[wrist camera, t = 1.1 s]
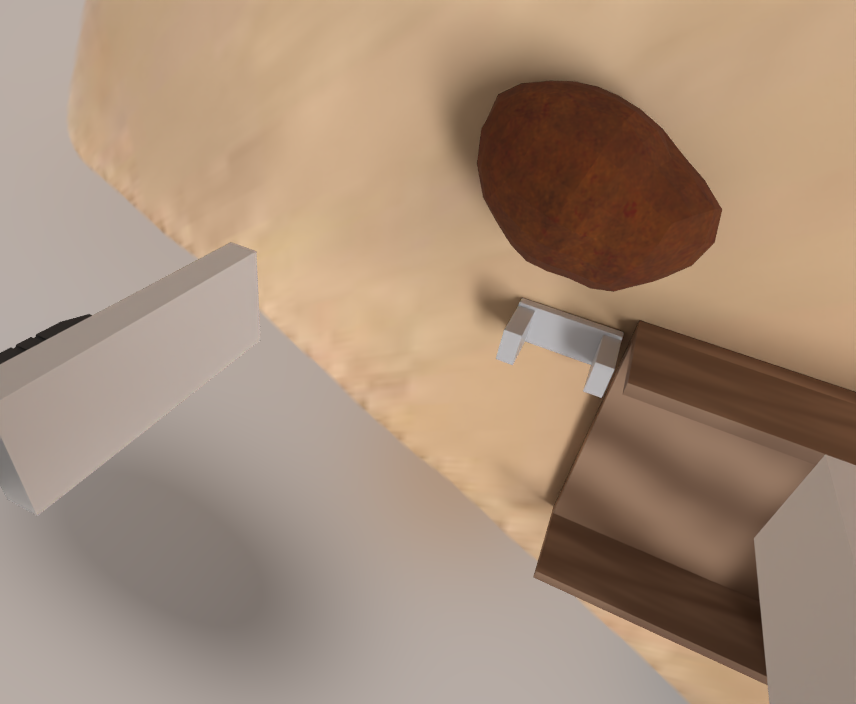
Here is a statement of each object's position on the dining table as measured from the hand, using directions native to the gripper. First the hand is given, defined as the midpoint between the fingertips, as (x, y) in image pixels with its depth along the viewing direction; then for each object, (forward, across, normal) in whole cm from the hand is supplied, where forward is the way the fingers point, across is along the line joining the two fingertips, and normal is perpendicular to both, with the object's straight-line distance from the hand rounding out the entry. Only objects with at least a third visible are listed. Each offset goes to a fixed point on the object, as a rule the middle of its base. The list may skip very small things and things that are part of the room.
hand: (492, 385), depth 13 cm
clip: (+18, +1, -9) cm, 20 cm away
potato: (+19, 0, 0) cm, 19 cm away
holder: (+18, +12, -15) cm, 27 cm away
